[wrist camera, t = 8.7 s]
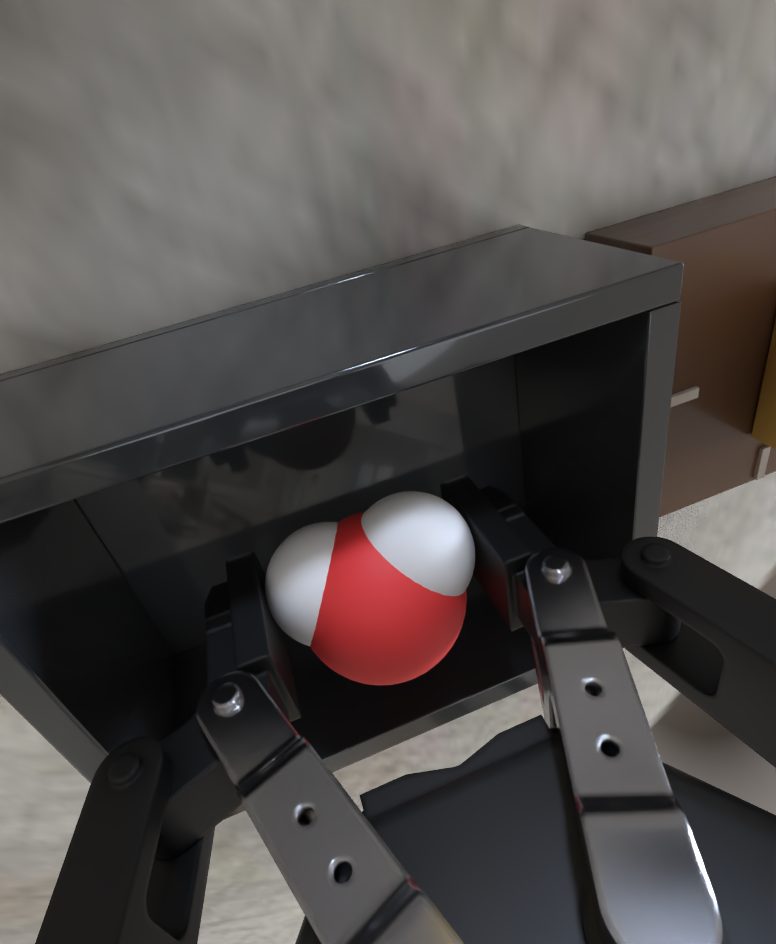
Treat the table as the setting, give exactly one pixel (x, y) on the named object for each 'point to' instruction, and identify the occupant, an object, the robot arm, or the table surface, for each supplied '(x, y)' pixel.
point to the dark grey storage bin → (320, 472)
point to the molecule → (376, 587)
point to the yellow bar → (767, 400)
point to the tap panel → (714, 334)
